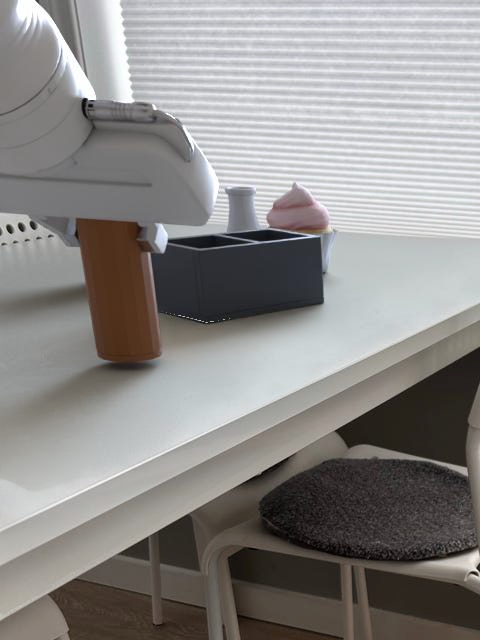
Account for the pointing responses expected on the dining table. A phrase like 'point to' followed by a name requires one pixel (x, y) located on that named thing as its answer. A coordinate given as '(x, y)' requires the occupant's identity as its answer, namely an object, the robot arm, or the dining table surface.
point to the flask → (241, 209)
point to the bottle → (119, 290)
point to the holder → (238, 274)
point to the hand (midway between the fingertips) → (118, 242)
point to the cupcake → (303, 218)
